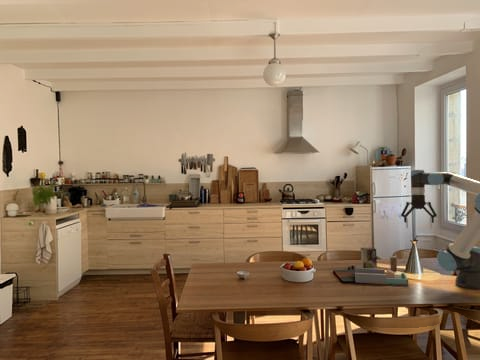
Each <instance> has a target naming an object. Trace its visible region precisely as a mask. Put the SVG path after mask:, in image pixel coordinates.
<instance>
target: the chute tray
mask: <svg viewBox="0 0 480 360" xmlns="http://www.w3.org/2000/svg"><path fill="white" fill-rule="evenodd" d="M386 272H387V271H385V274H386ZM400 273H401V276H402V279H398V278H394V277H393V278H387V277H386V281H387V284H386V285H395V286H396V285H397V286H409V278H408V275H406V273H405V272H400Z"/></svg>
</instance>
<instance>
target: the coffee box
mask: <svg viewBox="0 0 480 360" xmlns="http://www.w3.org/2000/svg"><path fill="white" fill-rule="evenodd" d="M377 257H378V256H377V249H376V248H375V247H373V246H372V247H370V246H369V247H360V262H361V266H360V268H373V269H378V265H377V264H378V263H377V261H378V260H377Z"/></svg>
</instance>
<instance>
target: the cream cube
mask: <svg viewBox="0 0 480 360" xmlns="http://www.w3.org/2000/svg"><path fill="white" fill-rule="evenodd" d="M401 273H402V272H396V273H395V274H394V278H398V279H402V276H401Z"/></svg>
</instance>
